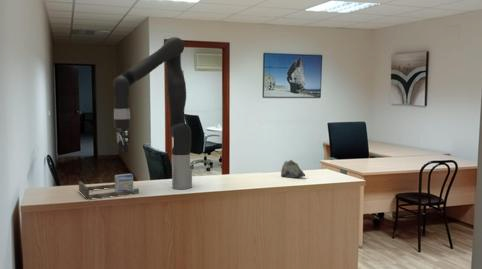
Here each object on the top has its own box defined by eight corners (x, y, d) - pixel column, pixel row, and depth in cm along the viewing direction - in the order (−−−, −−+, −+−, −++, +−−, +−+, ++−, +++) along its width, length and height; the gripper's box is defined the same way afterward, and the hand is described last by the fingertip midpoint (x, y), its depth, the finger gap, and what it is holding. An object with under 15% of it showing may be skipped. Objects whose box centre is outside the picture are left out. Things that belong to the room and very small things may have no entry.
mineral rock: (306, 179, 249) (306, 161, 248) (289, 180, 246) (289, 162, 245) (295, 175, 261) (295, 158, 260) (279, 176, 258) (279, 159, 257)
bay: (127, 186, 230) (127, 176, 230) (138, 193, 213) (138, 183, 213) (79, 191, 218) (78, 181, 218) (87, 199, 201) (86, 189, 201)
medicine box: (117, 193, 214) (117, 176, 213) (114, 192, 217) (114, 174, 216) (133, 191, 218) (133, 174, 217) (130, 190, 222) (130, 173, 221)
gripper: (134, 118, 210) (135, 152, 211) (125, 117, 222) (126, 149, 224) (118, 119, 206) (119, 153, 208) (110, 117, 218) (111, 150, 220)
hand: (123, 151), depth 216 cm, fingers open, 8 cm apart
